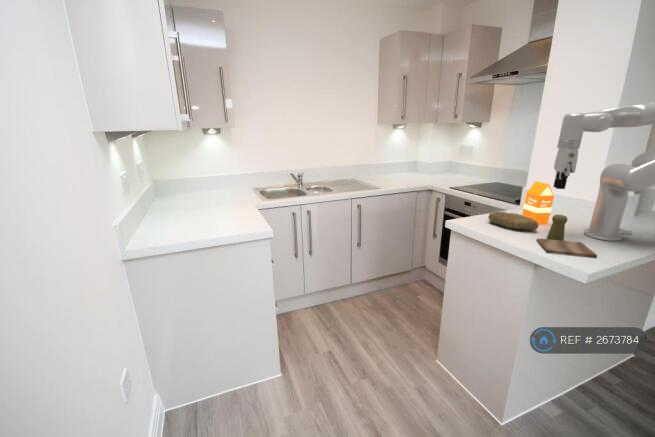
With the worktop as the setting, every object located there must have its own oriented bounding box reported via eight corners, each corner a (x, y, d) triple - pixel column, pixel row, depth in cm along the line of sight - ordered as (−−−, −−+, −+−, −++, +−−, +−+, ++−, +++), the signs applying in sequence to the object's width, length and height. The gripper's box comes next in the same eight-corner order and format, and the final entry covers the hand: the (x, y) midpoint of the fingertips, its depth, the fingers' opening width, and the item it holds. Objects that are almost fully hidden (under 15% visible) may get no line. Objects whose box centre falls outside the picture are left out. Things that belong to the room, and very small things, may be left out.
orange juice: (534, 218, 160) (542, 180, 154) (548, 224, 152) (557, 184, 146) (520, 219, 159) (528, 181, 153) (533, 224, 151) (542, 184, 145)
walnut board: (581, 245, 126) (581, 242, 126) (596, 258, 114) (597, 255, 114) (536, 240, 131) (536, 238, 130) (546, 252, 119) (547, 249, 119)
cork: (543, 237, 135) (548, 213, 132) (557, 237, 135) (563, 213, 131) (552, 242, 129) (558, 217, 126) (567, 242, 129) (573, 217, 126)
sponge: (484, 225, 155) (521, 230, 136) (486, 210, 154) (524, 212, 136) (504, 227, 159) (542, 231, 140) (506, 212, 159) (544, 214, 140)
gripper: (588, 146, 119) (577, 192, 125) (571, 143, 133) (562, 185, 139) (565, 145, 121) (555, 191, 127) (551, 143, 136) (542, 184, 141)
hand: (559, 187), depth 133 cm, fingers closed
